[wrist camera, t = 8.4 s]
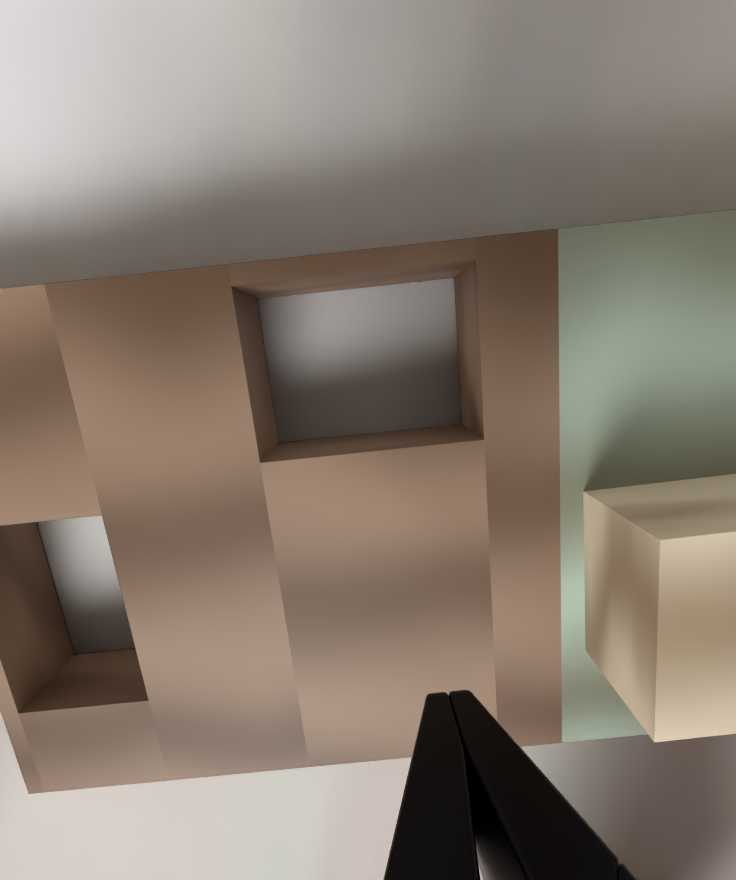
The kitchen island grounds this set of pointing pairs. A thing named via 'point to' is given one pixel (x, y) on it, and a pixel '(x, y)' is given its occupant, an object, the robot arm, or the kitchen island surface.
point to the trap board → (343, 500)
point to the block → (665, 602)
